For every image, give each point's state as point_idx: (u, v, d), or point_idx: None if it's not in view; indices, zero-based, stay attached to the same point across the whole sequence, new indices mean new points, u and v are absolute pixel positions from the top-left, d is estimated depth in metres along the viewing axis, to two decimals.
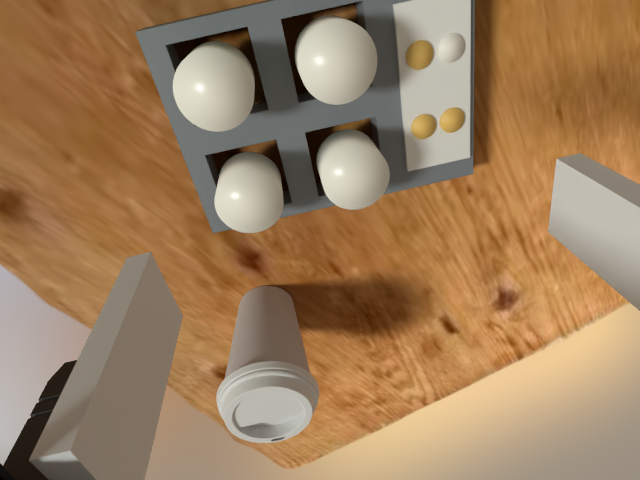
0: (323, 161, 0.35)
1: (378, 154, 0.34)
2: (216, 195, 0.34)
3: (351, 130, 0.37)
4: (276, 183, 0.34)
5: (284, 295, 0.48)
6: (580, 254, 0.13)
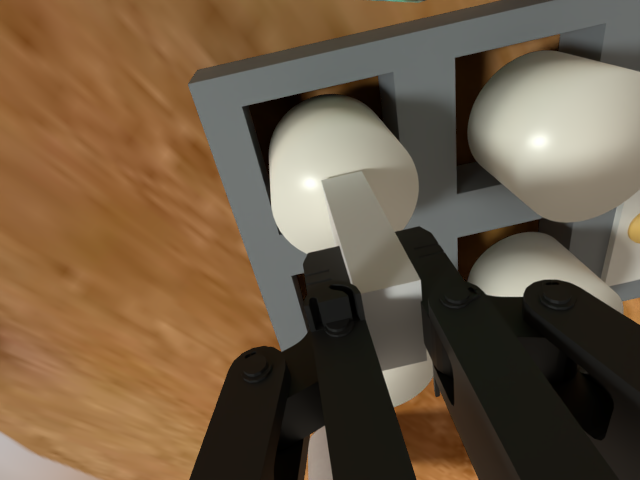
0: None
1: (613, 294, 0.19)
2: None
3: (535, 233, 0.22)
4: None
5: None
6: None
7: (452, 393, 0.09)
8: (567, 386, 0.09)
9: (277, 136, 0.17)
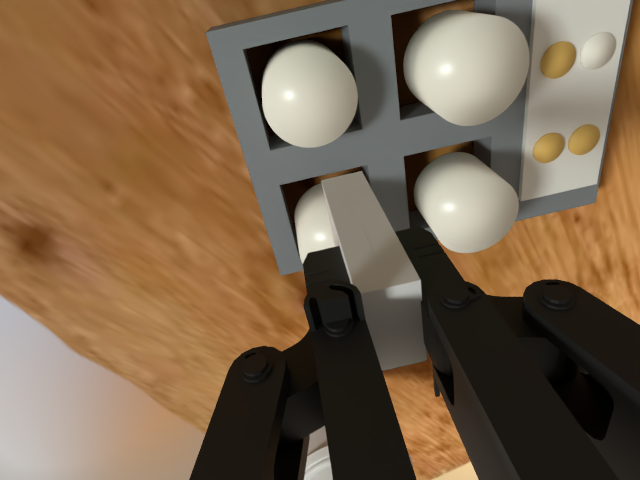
0: (434, 194, 0.28)
1: (508, 186, 0.26)
2: (302, 239, 0.27)
3: (461, 153, 0.30)
4: None
5: None
6: None
7: (452, 393, 0.09)
8: (567, 386, 0.09)
9: (267, 65, 0.26)
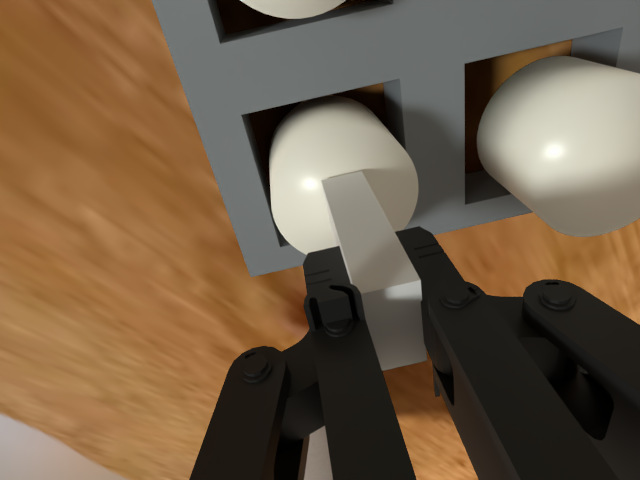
0: (531, 123, 0.14)
1: None
2: (276, 182, 0.15)
3: (569, 56, 0.16)
4: None
5: None
6: None
7: (452, 393, 0.09)
8: (567, 386, 0.09)
9: None
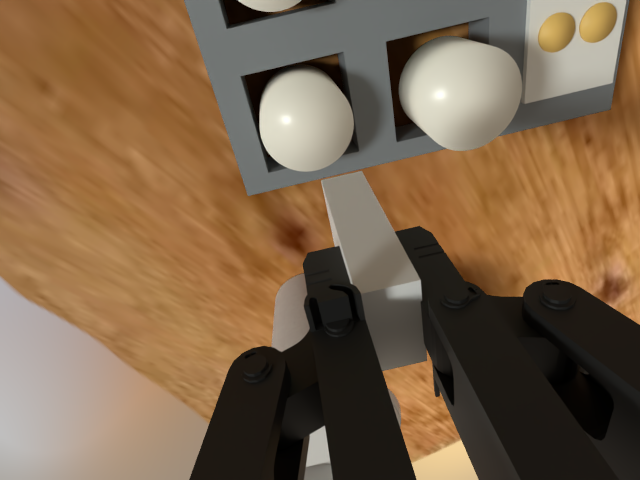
0: (420, 76, 0.23)
1: (510, 59, 0.22)
2: (262, 114, 0.24)
3: (454, 36, 0.25)
4: (345, 97, 0.24)
5: None
6: None
7: (452, 393, 0.09)
8: (567, 386, 0.09)
9: None
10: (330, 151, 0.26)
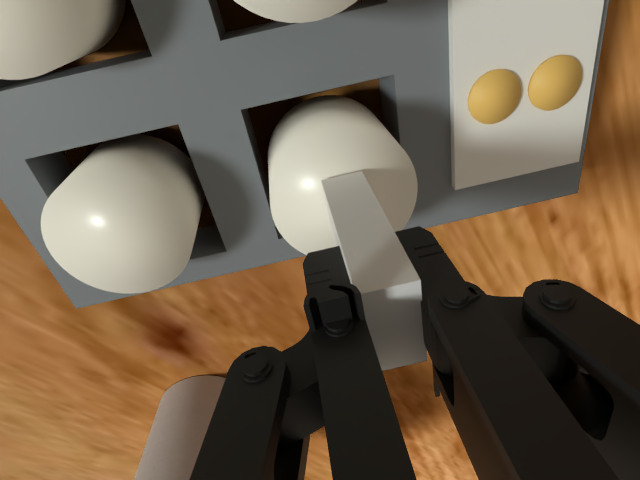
0: (273, 161, 0.16)
1: (394, 145, 0.15)
2: (44, 223, 0.16)
3: (335, 96, 0.18)
4: (172, 197, 0.16)
5: None
6: None
7: (452, 393, 0.09)
8: (567, 386, 0.09)
9: None
10: (163, 267, 0.18)
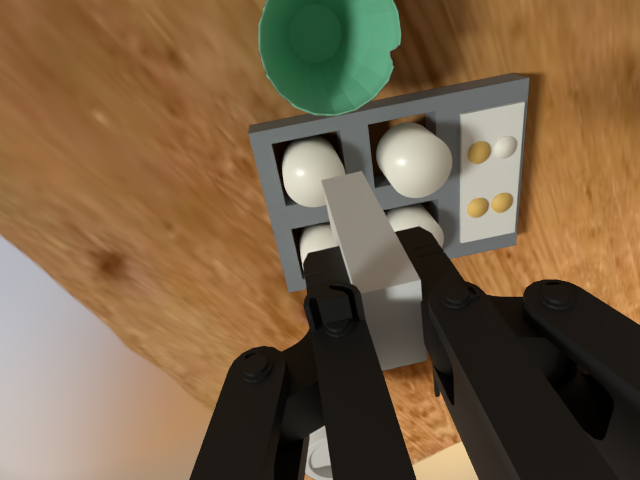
0: None
1: (436, 224, 0.42)
2: (304, 255, 0.42)
3: None
4: None
5: None
6: None
7: (452, 393, 0.09)
8: (567, 386, 0.09)
9: (286, 152, 0.39)
10: None
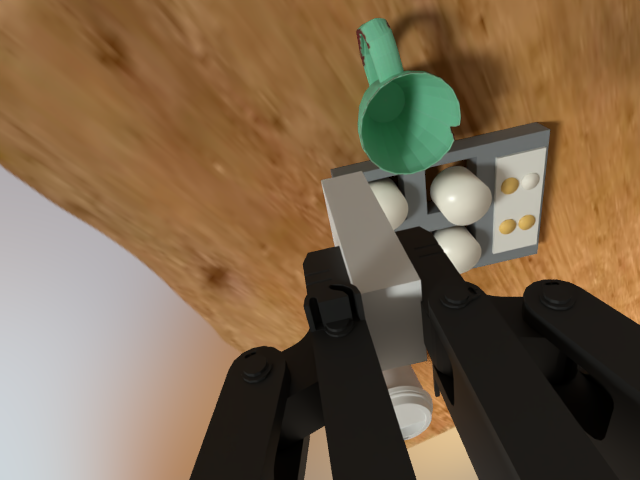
0: None
1: (475, 242, 0.53)
2: None
3: None
4: None
5: None
6: None
7: (452, 393, 0.09)
8: (567, 386, 0.09)
9: None
10: None
